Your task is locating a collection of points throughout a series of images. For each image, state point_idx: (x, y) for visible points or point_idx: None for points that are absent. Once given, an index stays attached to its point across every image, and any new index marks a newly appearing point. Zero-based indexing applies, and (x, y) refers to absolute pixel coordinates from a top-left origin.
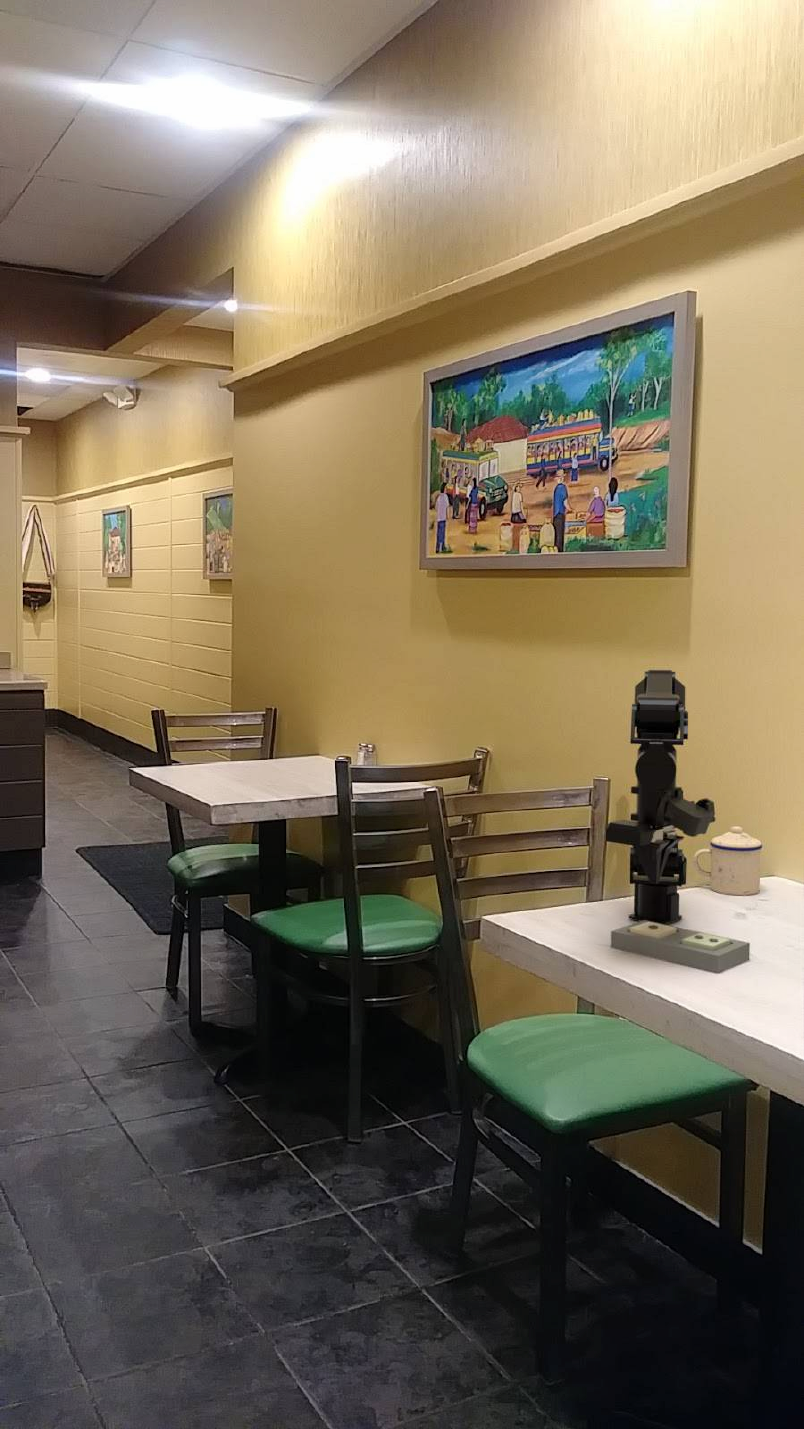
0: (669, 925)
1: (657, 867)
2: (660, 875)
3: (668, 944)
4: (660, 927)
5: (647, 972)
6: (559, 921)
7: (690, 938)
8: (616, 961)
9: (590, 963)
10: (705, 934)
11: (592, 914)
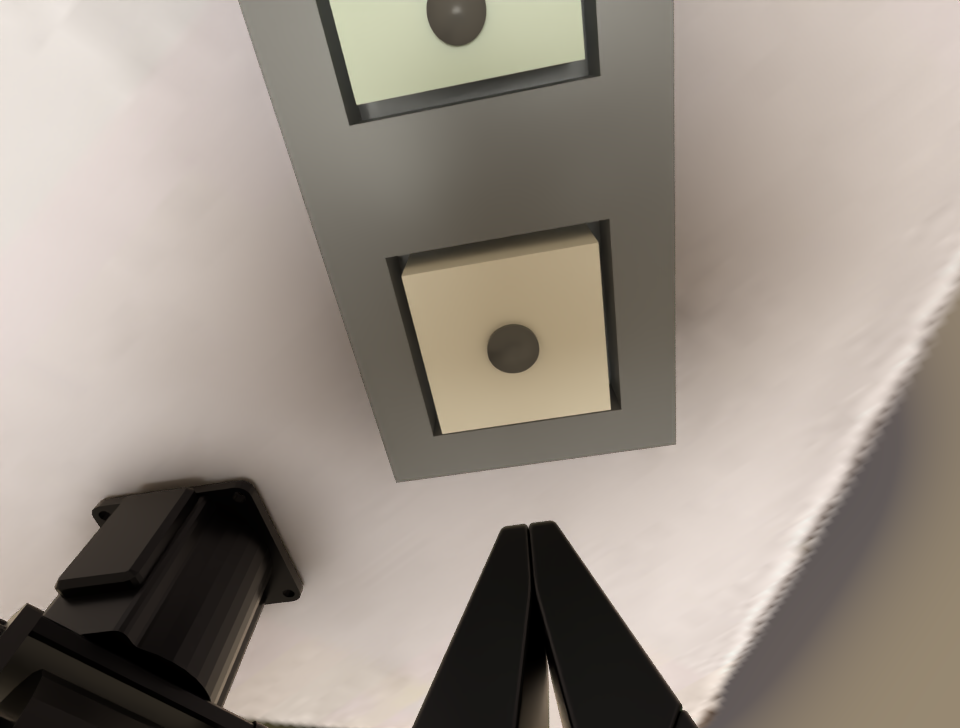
0: (358, 360)
1: (619, 656)
2: (500, 573)
3: (673, 93)
4: (473, 330)
5: (908, 5)
6: None
7: (521, 37)
8: (825, 248)
9: (930, 294)
10: (355, 45)
11: (374, 665)
